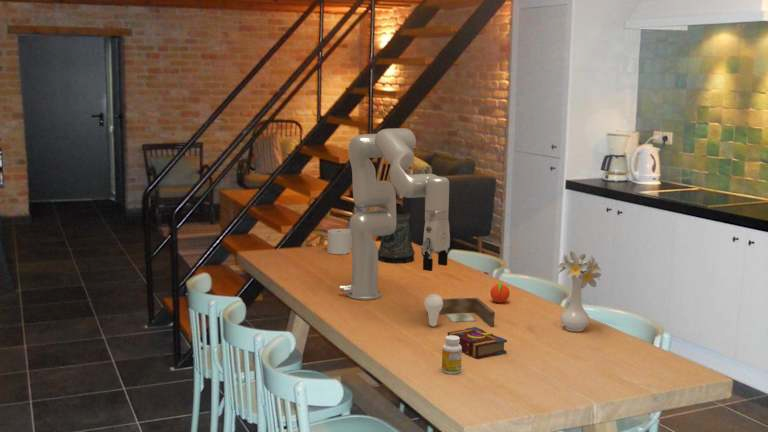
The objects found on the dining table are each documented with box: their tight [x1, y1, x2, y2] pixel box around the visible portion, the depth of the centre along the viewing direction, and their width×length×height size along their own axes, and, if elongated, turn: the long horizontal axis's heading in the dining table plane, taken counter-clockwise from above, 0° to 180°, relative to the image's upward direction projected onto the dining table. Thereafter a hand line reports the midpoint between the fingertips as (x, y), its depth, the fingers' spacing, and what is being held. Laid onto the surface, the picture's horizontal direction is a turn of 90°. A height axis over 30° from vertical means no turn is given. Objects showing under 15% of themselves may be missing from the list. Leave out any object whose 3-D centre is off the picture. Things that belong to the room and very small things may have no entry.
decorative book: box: [447, 326, 508, 359], centre depth 254 cm, size 11×16×5 cm
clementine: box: [490, 282, 510, 304], centre depth 306 cm, size 8×7×7 cm
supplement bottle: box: [441, 335, 463, 375], centre depth 234 cm, size 5×5×10 cm
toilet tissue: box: [326, 228, 352, 255], centre depth 387 cm, size 11×12×10 cm
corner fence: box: [426, 297, 496, 328], centre depth 283 cm, size 18×18×5 cm
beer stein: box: [377, 202, 415, 265], centre depth 372 cm, size 16×19×25 cm
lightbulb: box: [423, 293, 443, 328], centre depth 274 cm, size 6×6×11 cm
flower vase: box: [556, 250, 602, 333], centre depth 273 cm, size 13×18×25 cm
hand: (435, 267), depth 272 cm, fingers open, 9 cm apart
